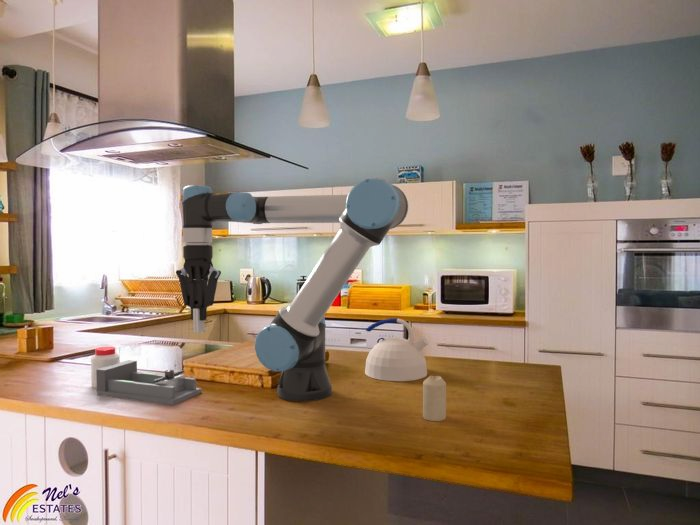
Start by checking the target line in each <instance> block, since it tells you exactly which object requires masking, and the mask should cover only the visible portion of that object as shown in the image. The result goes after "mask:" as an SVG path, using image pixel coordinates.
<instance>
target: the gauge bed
mask: <svg viewBox="0 0 700 525" xmlns="http://www.w3.org/2000/svg"><path fill="white" fill-rule="evenodd" d="M137 361H138V360H129V359H128V360H125V361H122V362H121V361H120V363H117V364H114V365H110V366H107V367H103V368H100V369H96V374H97V388H96V396H102V397H109V398H116V399H125V400H131V401H132V400H133V401H138V400H139V402H146V401H148V402H147V403H153V402H155V403H154V404H161V403H162V405H163V404H164V405H169V406H174V405H176V404H179V403H181V402H184V401H186V400H188V399H190V398H192V397H195V396H197V395H199V394H202V388H201V387H197V378H195V377H187V376H186V377H185V376H184V389H183V390H180V391H178V392H175V387H174V386H166V385H157V384H155V383H154V380H156V379H158V378H161V377H164V376H165V374H159V373H153V372H152V373H151V372H145V371H144V372H141V371H139V372H138V364H137V363H138V362H137Z"/></svg>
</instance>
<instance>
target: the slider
mask: <svg viewBox="0 0 700 525" xmlns="http://www.w3.org/2000/svg"><path fill="white" fill-rule="evenodd" d="M184 373H185V370H184V369H183V370H182V369H181V370H179V371H175V370H174V369H166V370H164V375H165V376H164V377H161V378H158V379H156V380H154V383H155V384H157V385H166V386H174V387H175V392H178V391H180V390H183V389H184V377H185V376H184Z"/></svg>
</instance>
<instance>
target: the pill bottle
mask: <svg viewBox="0 0 700 525" xmlns="http://www.w3.org/2000/svg"><path fill="white" fill-rule="evenodd" d="M94 351H95V352H94V354H93V356H91V358H90V363H91V364H90V365H91V366H90V368H91V372H90V374H91V375H90V376H91V387H92V388H95V389H97V374H96V369H100V368H103V367H107V366H110V365H114V364H117V363H121V359H120V358H121V357H120V355H119V354H118V353H117V352H116V347H115V346H102V347H96V348H95V349H94Z"/></svg>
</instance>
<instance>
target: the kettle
mask: <svg viewBox="0 0 700 525" xmlns="http://www.w3.org/2000/svg"><path fill="white" fill-rule="evenodd" d="M389 323H399V324H401V325H403V326H404V327H405V328H406V329H407V331H408V338H407V339H406V338H404V337H396V336H394V337H388V338H384V337H380V338H378V339H377V342H376V343H377V344H375V345H374V346H373V347H372V348H371V350H370V351H369V352H368V355H367V357H366V359H365V370H364V373H365V375H366V376H368V377H369V378H371V379H375V380H379V381H385V382H410V381H413V382H414V381H417V380H421V379H423V378H425V377H427V376H428V370H427V369H428V368H427V360H426V357H425V355H424V353H423V352H422V350H423V349H424V348H425V347H427V346H428V345H429V341H428V340H427V339H426V337H424V336H420V337H419V338H418V339H417V340H416V341H414V340H415V333H414V329H413V326H411V325H410V323H408V322H407V320H405V319H401V318H388V319H386V318H385V319H382V320H379V321H376V322H374V323H373V324H371V325H369V326H368V327H367V328H366V329H365V331H366V332H371V331H372V330H374V329H375V328H377V327H379V326H382V325H385V324H389Z"/></svg>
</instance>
